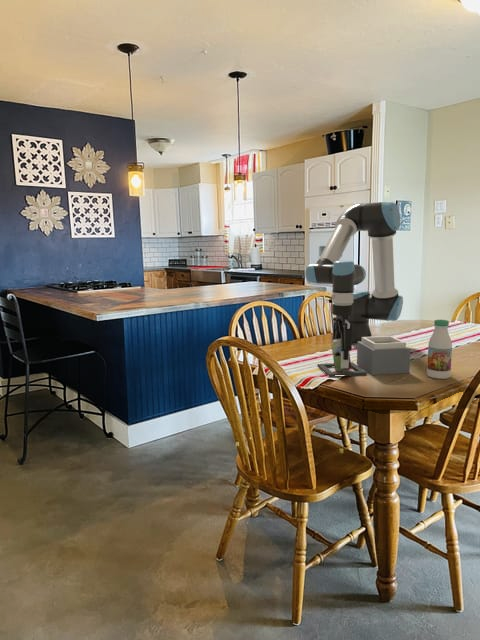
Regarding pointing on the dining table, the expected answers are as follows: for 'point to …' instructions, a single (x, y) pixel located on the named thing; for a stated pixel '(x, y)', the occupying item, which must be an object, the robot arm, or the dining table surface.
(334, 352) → the beverage can
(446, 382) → the dining table surface
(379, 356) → the tray
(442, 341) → the milk bottle
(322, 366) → the gray square frame
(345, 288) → the robot arm
